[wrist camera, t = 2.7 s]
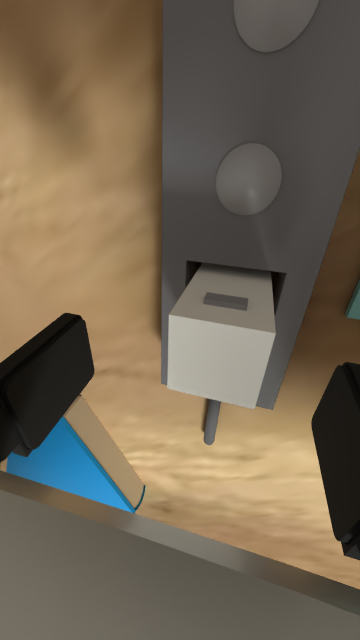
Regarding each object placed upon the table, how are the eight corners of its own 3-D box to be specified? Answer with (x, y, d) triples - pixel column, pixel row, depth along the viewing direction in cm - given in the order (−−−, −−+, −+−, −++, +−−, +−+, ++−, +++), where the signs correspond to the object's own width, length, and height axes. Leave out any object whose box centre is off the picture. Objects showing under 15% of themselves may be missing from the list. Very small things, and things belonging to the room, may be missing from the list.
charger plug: (271, 260, 16) (277, 327, 9) (257, 320, 18) (254, 409, 11) (206, 252, 17) (169, 309, 10) (201, 310, 19) (167, 388, 12)
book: (-68, 428, 35) (55, 420, 24) (-37, 404, 39) (82, 388, 28) (10, 502, 41) (135, 521, 31) (31, 475, 45) (149, 484, 34)
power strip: (190, -156, 9) (156, -311, 6) (451, -215, 8) (573, -464, 5) (170, 427, 26) (158, 460, 23) (250, 449, 25) (248, 488, 22)
